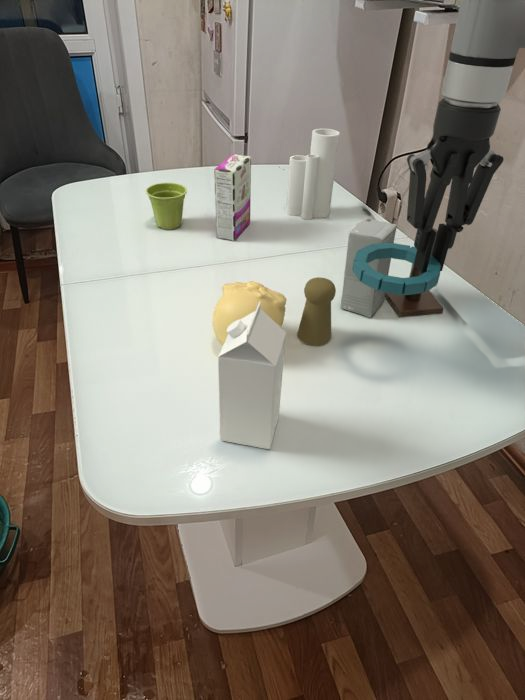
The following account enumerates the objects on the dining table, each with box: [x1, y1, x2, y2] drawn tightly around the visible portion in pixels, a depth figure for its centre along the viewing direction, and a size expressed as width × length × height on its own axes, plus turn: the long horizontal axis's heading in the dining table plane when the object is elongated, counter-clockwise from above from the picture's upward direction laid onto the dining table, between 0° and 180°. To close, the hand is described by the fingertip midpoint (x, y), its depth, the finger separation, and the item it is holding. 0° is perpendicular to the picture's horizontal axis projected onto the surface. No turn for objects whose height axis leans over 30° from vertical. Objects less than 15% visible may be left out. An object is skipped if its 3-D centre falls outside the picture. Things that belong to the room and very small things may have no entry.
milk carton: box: [217, 302, 287, 450], centre depth 67 cm, size 7×7×19 cm
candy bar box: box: [213, 153, 252, 242], centre depth 118 cm, size 11×5×16 cm, turn 162°
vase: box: [285, 127, 340, 221], centre depth 126 cm, size 11×7×20 cm, turn 106°
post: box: [384, 227, 445, 318], centre depth 96 cm, size 9×9×15 cm
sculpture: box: [211, 280, 287, 346], centre depth 85 cm, size 11×12×11 cm
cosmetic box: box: [340, 217, 398, 319], centre depth 95 cm, size 8×7×16 cm
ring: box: [352, 242, 441, 295], centre depth 77 cm, size 13×13×2 cm
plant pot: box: [145, 182, 188, 231], centre depth 121 cm, size 9×9×9 cm
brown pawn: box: [296, 276, 337, 347], centre depth 87 cm, size 6×6×11 cm
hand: (427, 267), depth 78 cm, fingers closed on ring, 2 cm apart
